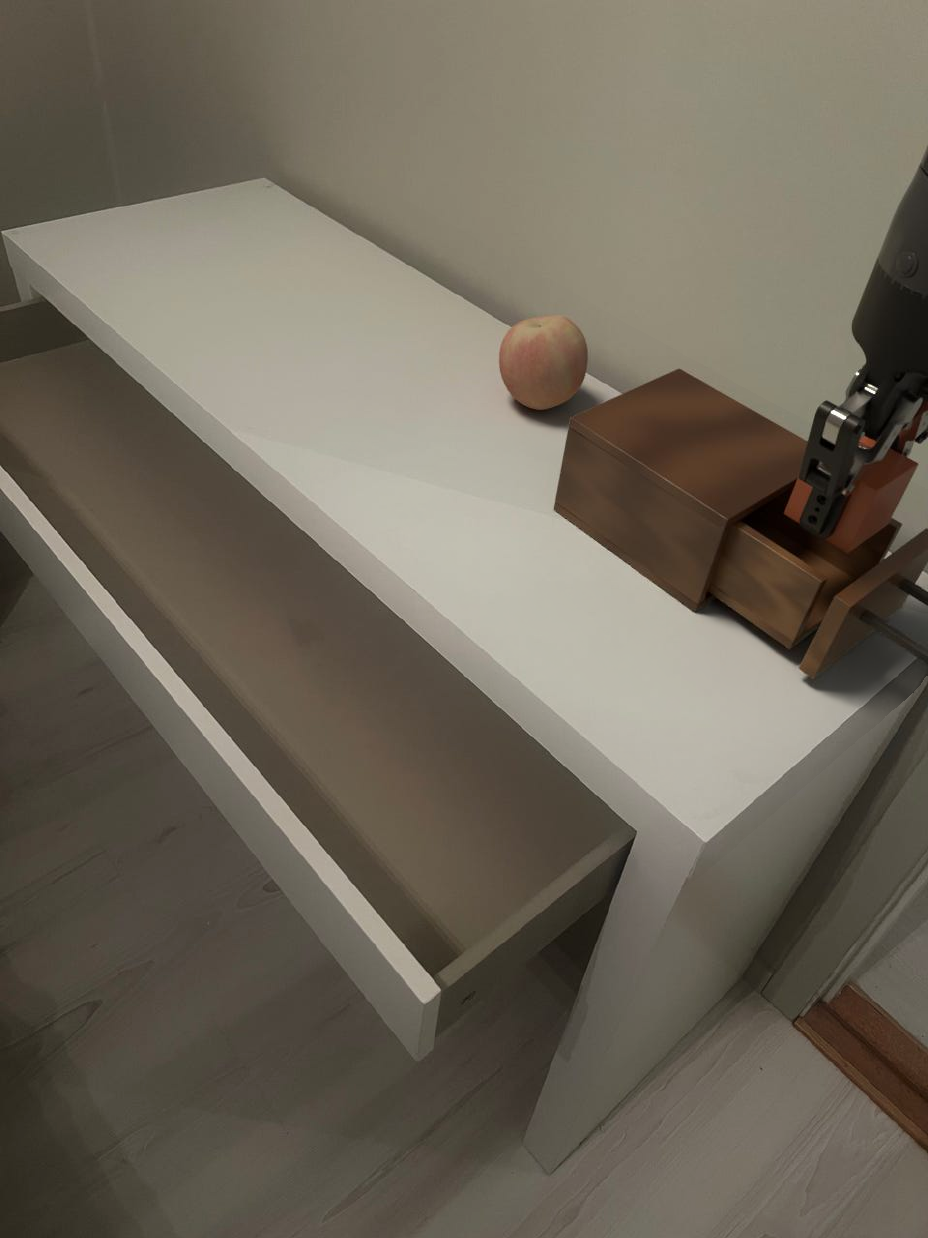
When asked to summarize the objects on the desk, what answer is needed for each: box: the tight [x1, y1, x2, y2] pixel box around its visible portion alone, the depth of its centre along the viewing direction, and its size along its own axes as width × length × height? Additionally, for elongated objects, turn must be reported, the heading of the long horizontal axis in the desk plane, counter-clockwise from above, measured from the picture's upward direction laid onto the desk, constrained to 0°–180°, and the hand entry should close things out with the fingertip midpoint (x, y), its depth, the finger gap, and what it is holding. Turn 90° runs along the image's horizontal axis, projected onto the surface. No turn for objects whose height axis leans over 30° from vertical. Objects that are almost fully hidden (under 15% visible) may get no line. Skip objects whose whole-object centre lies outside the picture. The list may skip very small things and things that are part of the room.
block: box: [784, 436, 919, 553], centre depth 60 cm, size 5×5×5 cm
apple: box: [498, 314, 589, 411], centre depth 83 cm, size 8×8×8 cm
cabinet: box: [553, 368, 808, 613], centre depth 71 cm, size 15×13×9 cm
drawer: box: [708, 486, 928, 680], centre depth 64 cm, size 20×11×7 cm, turn 41°
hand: (838, 514), depth 62 cm, fingers closed on block, 5 cm apart
